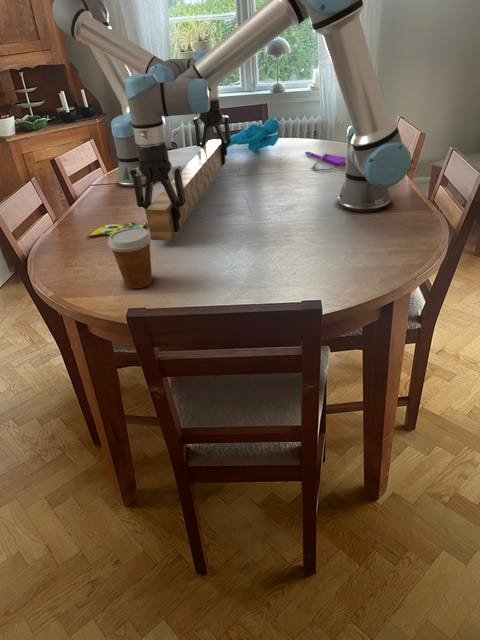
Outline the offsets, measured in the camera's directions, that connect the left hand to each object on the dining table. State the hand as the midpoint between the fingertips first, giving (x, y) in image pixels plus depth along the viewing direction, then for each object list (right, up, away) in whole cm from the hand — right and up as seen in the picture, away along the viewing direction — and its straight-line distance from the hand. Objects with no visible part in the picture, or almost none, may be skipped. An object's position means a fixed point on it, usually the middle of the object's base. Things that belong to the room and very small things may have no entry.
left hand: (215, 164), depth 185 cm
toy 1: (-27, -34, -43) cm, 61 cm away
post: (-6, -18, -26) cm, 32 cm away
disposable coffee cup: (-15, -52, -72) cm, 90 cm away
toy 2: (+12, +14, +24) cm, 31 cm away
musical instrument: (+41, 0, 0) cm, 41 cm away
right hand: (-11, -35, -53) cm, 65 cm away
